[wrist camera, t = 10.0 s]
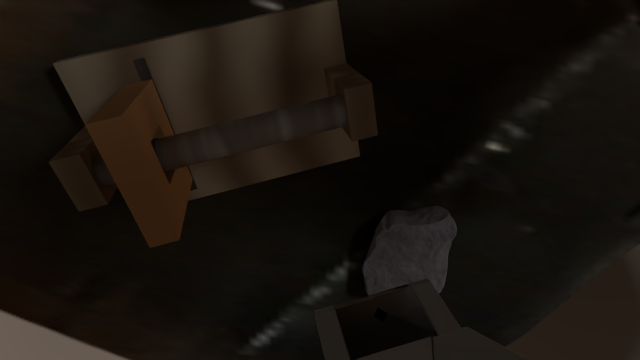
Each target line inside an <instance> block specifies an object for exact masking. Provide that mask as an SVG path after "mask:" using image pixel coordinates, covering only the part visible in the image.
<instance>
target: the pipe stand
mask: <svg viewBox="0 0 640 360" xmlns="http://www.w3.org/2000/svg"><path fill="white" fill-rule="evenodd" d="M53 65H54V67H55V69H56V71H57V73H58V75H59V77H60V78H61V80H62V82H63V84H64V86H65V88H66V90H67V92H68V94H69V95H70V97H71V99H72V101H73V103H74V105H75V107H76V109H77V111H78V112H79V114H80V116H81V118H82V120H83V122H84V124H86V123H87V122H88V121H89V120H90V119H91V118H92V117H93V116H94V115H95V114H96V113H97V112H98V111H99V110H100V109H102V108H103V107H104V106H105V105H106V104H107V103H108V102H109V101H110V100H111V99H112V98H113V97H114V96H115V95H116V94H117V93H118V92H119V91H120V90H121V89H122V88H123V87H124V86H125V85H129V84H133V83H138V82H142V81H146V80H150V79H152V81H153V84H154V86H155V88H156V91H157V93H158V96H159V98H160V101H161V103H162V106H163V108H164V110H165V113H166V115H167V118H168V120H169V123H170V125H171V128H172V130H173V132H174V135H172V136H168V137H164V138H160V139H159V138H154V139H152V141H151V144H152V146H153V149H154V151H155V153H156V155H157V158H158V160H159V162H160V164H161V167H162V169H163V171H164V173H168V172H169V171H170V170H174V169H178V168H182V167H186V166H187V167H188V169H189V172H190V174H191V176H192V179H193V180H192V184H191V189H190V194H189V198H188V201H189V200H193V199H197V198H201V197H205V196H209V195H213V194H216V193H220V192H224V191H228V190H232V189H236V188H239V187H243V186H247V185H251V184H255V183H259V182H263V181H266V180H270V179H274V178H278V177H282V176H286V175H289V174H293V173H297V172H301V171H305V170H309V169H313V168H316V167H320V166H324V165H328V164H332V163H336V162H339V161H343V160H347V159H351V158H355V157H359V156H360V152H359V145H358V140H361V139H365V138H369V137H373V136H376V135H378V131H377V123H376V114H375V106H374V98H373V89H372V83H371V82H370V81H369V80H368V79H366V78H365V77H364V76H362V75H361V74H360V73H358V72H357V71H356V70H355V69H353V68H352V67H351V66H349V65H348V64H347V63H346V58H345V51H344V44H343V37H342V31H341V24H340V17H339V11H338V4H337V0H325V1H321V2H316V3H312V4H307V5H303V6H298V7H294V8H289V9H285V10H281V11H276V12H272V13H267V14H263V15H258V16H254V17H249V18H245V19H240V20H236V21H232V22H227V23H223V24H218V25H214V26H209V27H205V28H200V29H196V30H191V31H187V32H183V33H178V34H174V35H169V36H165V37H160V38H156V39H151V40H147V41H142V42H138V43H134V44H129V45H125V46H120V47H116V48H111V49H107V50H102V51H98V52H94V53H89V54H85V55H80V56H76V57H71V58H67V59H62V60H59V61H57V62H55V63H53ZM49 164H50V165H51V167H52V169H53V170H54V172H55V174H56V175H57V177H58V178H59V180H60V182H61V183H62V185H63V187H64V188H65V190H66V192H67V193H68V195H69V196H70V198H71V200H72V201H73V203H74V205H75V206H76V208H77V209H78V211H79V212H80V211H84V210H88V209H92V208H96V207H100V206H103V205H107V204H108V203H109V201H110V199H111V198H112V196H113V194H114V192H115V191H116V189H117V185H116V183H115V181H114V179H113V177H112V175H111V173H110V172H109V170H108V168H107V166H106V164H105V162H104V160H103V158H102V156H101V155H100V153H99V151H98V149H97V147H96V145H95V143H94V141H93V139H92V138H91V136H90V134H89V132H88V130H87V128H86V126H84V127H83V128H82V129H81V130H80V131H79V132H78V133H77V134H76V135H75V136H74V137H73V138H72V139H71V140H70V141H69V142H68V143H67V144H66V145H65V146H64V147H63V148H62V149H61V150H60V151H59V152H58V153H57V154H56V155H55V156H54V157H53V158H52V159H51V160H50V161H49Z"/></svg>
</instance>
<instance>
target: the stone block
mask: <svg viewBox="0 0 640 360" xmlns="http://www.w3.org/2000/svg"><path fill="white" fill-rule="evenodd" d="M456 232H457V227H456V223H455V221H454V220H453V218H452V217H451V215H450V213H449V211H448V210H447V209H445V208H443V207H440V206H429V207H423V208H419V209H415V210H413V211H403V210H390V211H387V212H386V213H385V215H384V216H383V218H382V219H381V220H380V222H379V224H378V226H377V228H376V230H375V234H374V236H373V239H372V243H371V245H370V246H369V250H368V253H367V255H366V258H365V260H364V263H363V265H362V269H361V271H362V273H363V276H364V284H365V287H364V288H365V291H366V293H367V294H368V295H369V296H371V295H373V294H376V293H379V292H382V291H386V290H389V289H392V288H395V287H399V286H402V285H405V284H407V285H408V284H409V283H413V282H416V281H420V280H423V279H426V278H427V279H428V280H430V282H431V283H432V285H433V286H434V288H435V289H436V291H437V292H438V294H439V293H440V292H441V290H442V288H443V287H444V284H445V280H446V275H447V266H448V253H449V249H450V247H451V242H452V240H453V239H454V238H455V236H456Z"/></svg>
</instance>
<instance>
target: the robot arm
mask: <svg viewBox="0 0 640 360" xmlns="http://www.w3.org/2000/svg"><path fill="white" fill-rule="evenodd" d="M315 318H316V323H317V327H318V331H319V335H320V340H321V344H322V348H323V352H324V357H325V360H528V359H526V358H524V357H522V356H520V355H518V354H516V353H514V352H512V351H511V350H509V349H507V348H505V347H503V346H502V345H500V344H498V343H496V342H494V341H492V340H490V339H489V338H487V337H485V336H483V335H481V334H479V333H477V332H476V331H474V330H472V329H470V328H468V327H464V328H460V326H459V325H458V323H457V321H456V320H455V318H454V317H453V315H452V314H451V312H450V311H449V309H448V308H447V306H446V305H445V303H444V302H443V300H442V298H441V297H440V295H439V294H438V292H437V291H436V289H435V288H434V286H433V285H432V283H431V282H430V280H428V279H427V278H426V279H423V280H420V281H416V282H413V283H409V284H408V285H407V284H405V285H402V286H399V287H395V288H392V289H389V290H386V291H382V292H379V293H376V294H373V295H371V296H367V297H364V298H360V299H356V300H352V301H348V302H345V303H341V304H337V305H334V306H331V307H327V308H323V309H319V310H316V311H315Z"/></svg>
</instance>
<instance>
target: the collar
mask: <svg viewBox="0 0 640 360" xmlns="http://www.w3.org/2000/svg"><path fill="white" fill-rule="evenodd" d="M85 126H86V128H87V130H88V132H89V134H90V136H91V138H92V139H93V141H94V143H95V145H96V147H97V149H98V151H99V153H100V155H101V156H102V158H103V160H104V162H105V164H106V166H107V168H108V170H109V172H110V173H111V175H112V177H113V179H114V181H115V183H116V185H117V187H118V188H119V190H120V192H121V194H122V196H123V198H124V200H125V202H126V204H127V205H128V207H129V209H130V211H131V213H132V215H133V217H134V219H135V221H136V222H137V224H138V226H139V228H140V230H141V232H142V234H143V236H144V238H145V239H146V241H147V243H148V245H149V247H150V248H152V247H155V246H159V245H163V244H167V243H170V242H174V241H178V240H180V235H181V231H182V226H183V221H184V217H185V212H186V208H187V203H188V198H189V194H190V189H191V184H192V180H193V179H192V176H191V174H190V172H189V169H188V167H187V166H186V167H182V168H178V169H174V170H170V171H169V172H168V173H164V171H163V169H162V167H161V164H160V162H159V160H158V158H157V155H156V153H155V151H154V149H153V146H152V144H151V141H152V139H154V138H159V139H160V138H164V137H168V136H172V135H174V132H173V130H172V128H171V125H170V123H169V120H168V118H167V115H166V113H165V110H164V108H163V106H162V103H161V101H160V98H159V96H158V93H157V91H156V88H155V86H154V84H153V81H152V79H150V80H146V81H142V82H138V83H133V84H129V85H125V86H124V87H123V88H122V89H121V90H120V91H119V92H118V93H117V94H116V95H115V96H114V97H113V98H112V99H111V100H110V101H109V102H108V103H107V104H106V105H105V106H104V107H103V108H102V109H100V110H99V111H98V112H97V113H96V114H95V115H94V116H93V117H92V118H91V119H90V120H89V121H88V122H87V123H86V124H85Z"/></svg>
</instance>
